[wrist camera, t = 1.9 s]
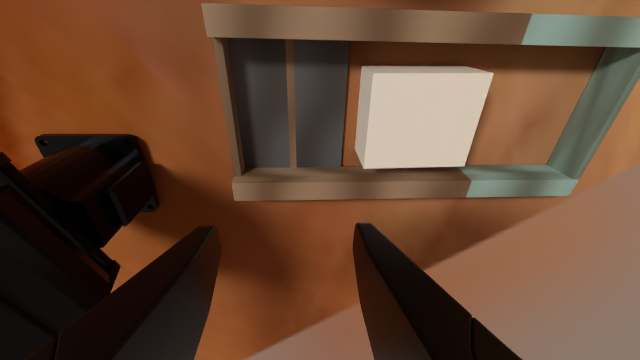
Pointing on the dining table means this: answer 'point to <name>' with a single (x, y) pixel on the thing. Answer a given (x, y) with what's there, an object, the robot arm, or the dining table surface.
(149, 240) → the dining table surface
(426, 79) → the ivory block
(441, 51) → the dining table surface
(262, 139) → the box
